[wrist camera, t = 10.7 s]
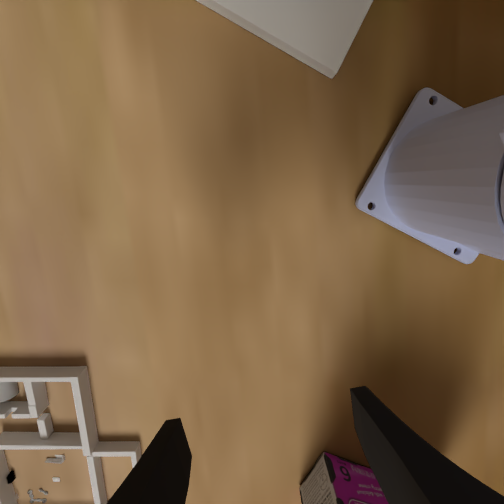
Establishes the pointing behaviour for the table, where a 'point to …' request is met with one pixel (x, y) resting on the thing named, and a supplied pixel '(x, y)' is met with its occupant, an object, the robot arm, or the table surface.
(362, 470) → the candy bar box
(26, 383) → the floor plan model
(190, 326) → the table surface
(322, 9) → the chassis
